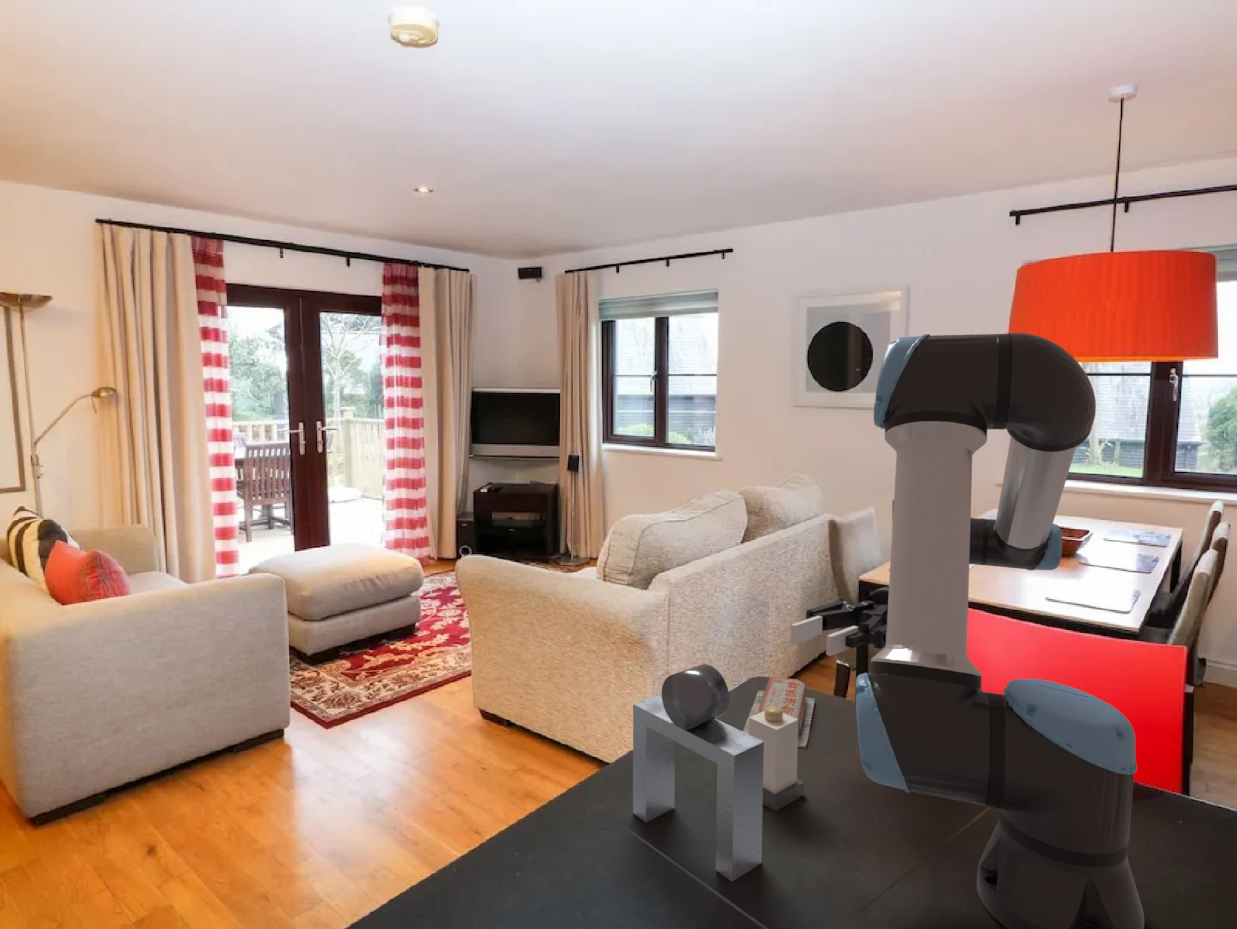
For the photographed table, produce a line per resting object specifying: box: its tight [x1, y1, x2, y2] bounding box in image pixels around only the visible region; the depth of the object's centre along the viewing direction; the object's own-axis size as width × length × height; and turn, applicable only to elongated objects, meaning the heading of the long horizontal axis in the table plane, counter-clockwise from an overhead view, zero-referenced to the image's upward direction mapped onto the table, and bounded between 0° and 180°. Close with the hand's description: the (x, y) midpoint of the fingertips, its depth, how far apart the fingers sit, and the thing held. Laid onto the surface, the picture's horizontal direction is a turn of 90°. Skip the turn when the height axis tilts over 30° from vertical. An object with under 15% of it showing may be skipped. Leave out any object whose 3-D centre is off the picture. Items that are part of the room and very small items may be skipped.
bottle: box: [748, 706, 805, 812], centre depth 99 cm, size 6×6×12 cm
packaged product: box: [742, 676, 816, 749], centre depth 122 cm, size 18×5×10 cm
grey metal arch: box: [632, 663, 764, 882], centre depth 89 cm, size 17×5×21 cm, turn 39°
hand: (810, 639), depth 102 cm, fingers open, 5 cm apart
